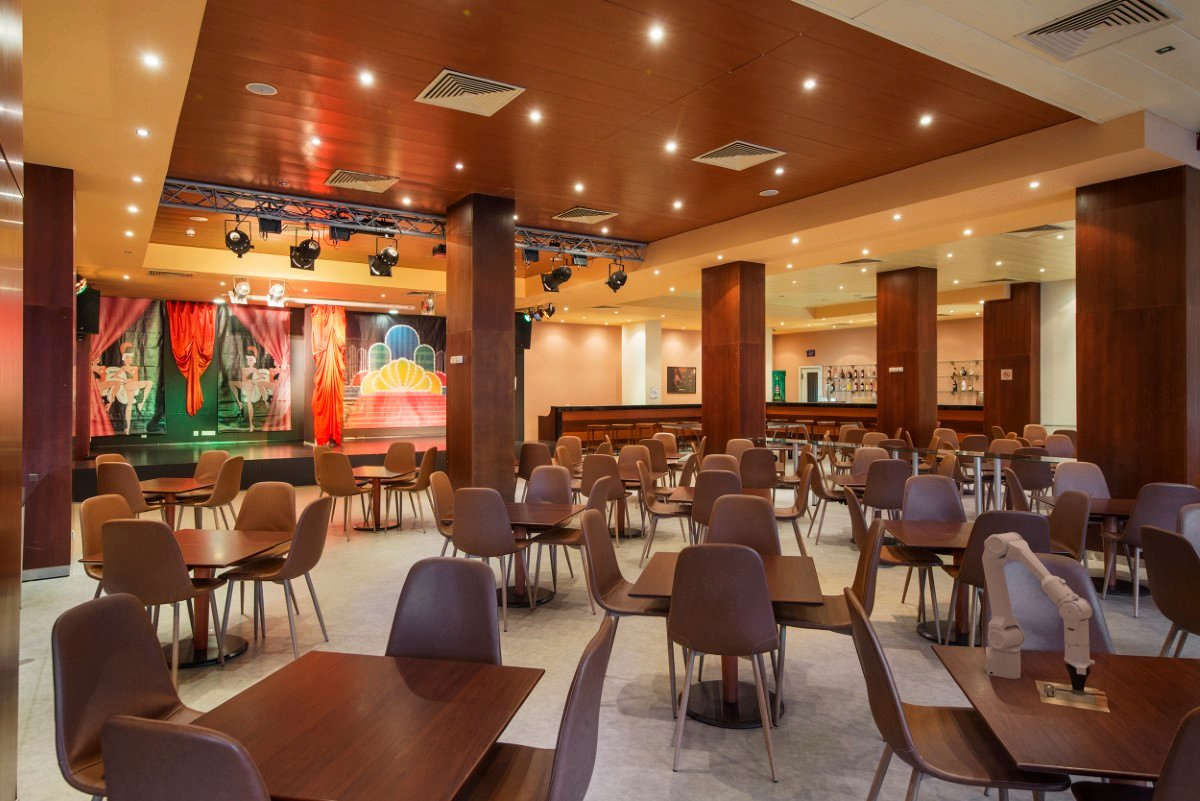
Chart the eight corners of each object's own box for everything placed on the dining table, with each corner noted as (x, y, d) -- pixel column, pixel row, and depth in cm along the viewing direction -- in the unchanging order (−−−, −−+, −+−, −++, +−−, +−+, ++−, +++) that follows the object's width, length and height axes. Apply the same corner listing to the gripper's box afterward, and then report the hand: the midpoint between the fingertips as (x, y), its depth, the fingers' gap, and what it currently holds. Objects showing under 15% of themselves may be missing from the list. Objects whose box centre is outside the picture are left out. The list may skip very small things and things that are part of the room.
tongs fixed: (1040, 697, 194) (1039, 687, 194) (1038, 691, 198) (1038, 681, 198) (1107, 707, 187) (1107, 696, 187) (1104, 701, 191) (1104, 691, 191)
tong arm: (1055, 695, 195) (1055, 687, 195) (1054, 692, 197) (1054, 684, 197) (1105, 702, 190) (1105, 694, 190) (1104, 699, 192) (1103, 691, 192)
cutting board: (1041, 706, 191) (1041, 701, 191) (1035, 684, 207) (1035, 680, 207) (1110, 716, 184) (1110, 712, 184) (1098, 693, 200) (1097, 688, 200)
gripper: (1098, 652, 187) (1100, 704, 186) (1089, 637, 200) (1091, 685, 199) (1067, 649, 190) (1068, 699, 189) (1060, 634, 203) (1061, 681, 202)
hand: (1078, 692), depth 195 cm, fingers closed
